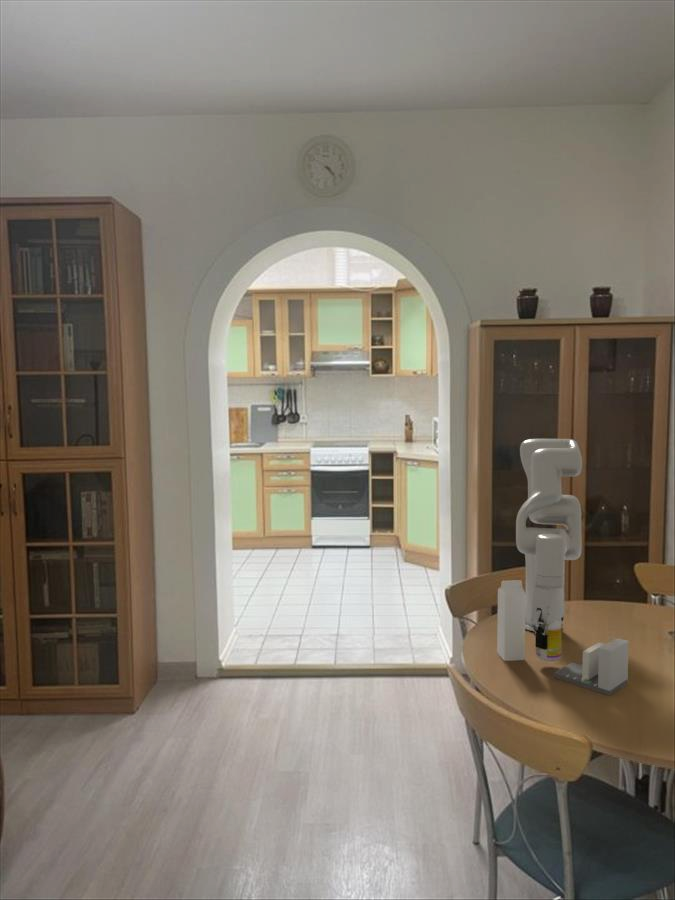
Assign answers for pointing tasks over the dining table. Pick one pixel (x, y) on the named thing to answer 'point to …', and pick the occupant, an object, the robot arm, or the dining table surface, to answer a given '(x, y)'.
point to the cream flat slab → (591, 661)
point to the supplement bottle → (551, 642)
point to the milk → (511, 621)
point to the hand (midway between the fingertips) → (548, 643)
